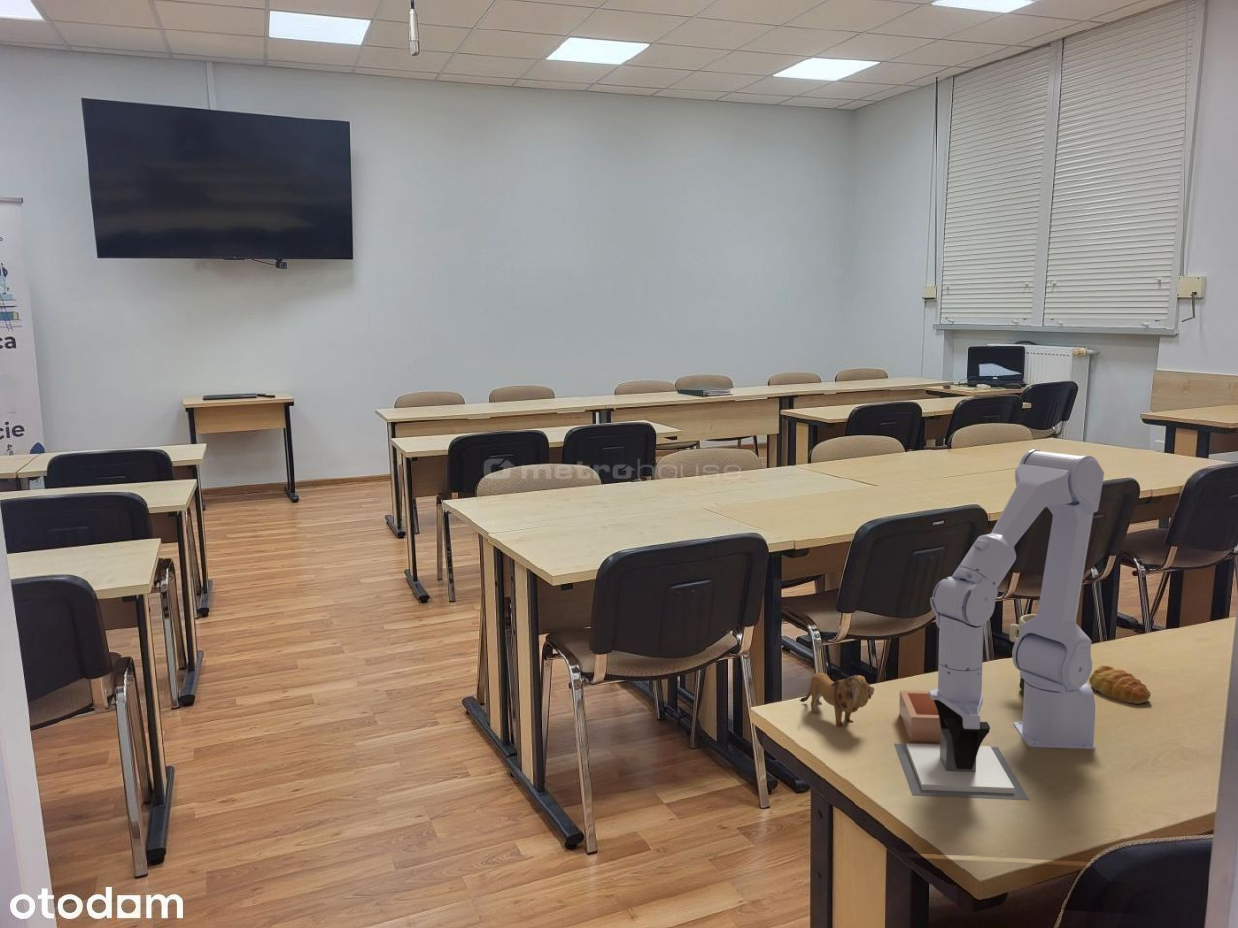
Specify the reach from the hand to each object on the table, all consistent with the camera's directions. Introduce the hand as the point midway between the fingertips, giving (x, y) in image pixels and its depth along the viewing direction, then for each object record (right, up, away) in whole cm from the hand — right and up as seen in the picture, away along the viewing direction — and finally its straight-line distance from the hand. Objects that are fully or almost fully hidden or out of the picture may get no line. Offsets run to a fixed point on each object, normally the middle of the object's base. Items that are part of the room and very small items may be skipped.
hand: (957, 754), depth 126 cm
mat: (0, -3, 0) cm, 3 cm away
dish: (+2, -1, +13) cm, 13 cm away
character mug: (+24, +2, +26) cm, 35 cm away
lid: (0, -2, 0) cm, 2 cm away
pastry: (+37, +2, +25) cm, 45 cm away
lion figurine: (-13, -1, +19) cm, 23 cm away
